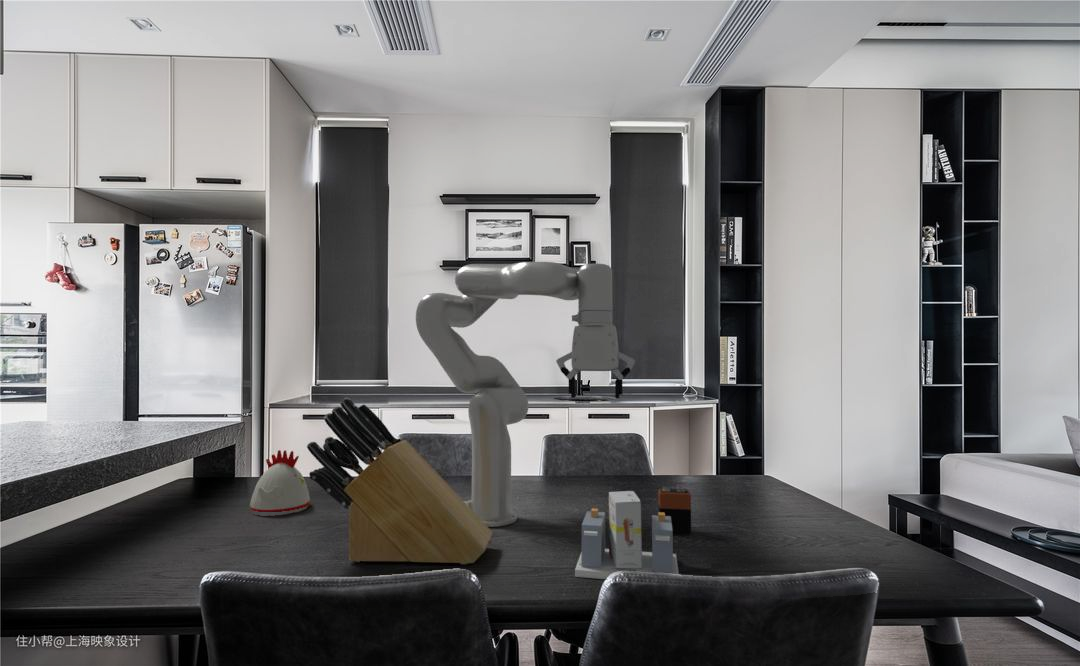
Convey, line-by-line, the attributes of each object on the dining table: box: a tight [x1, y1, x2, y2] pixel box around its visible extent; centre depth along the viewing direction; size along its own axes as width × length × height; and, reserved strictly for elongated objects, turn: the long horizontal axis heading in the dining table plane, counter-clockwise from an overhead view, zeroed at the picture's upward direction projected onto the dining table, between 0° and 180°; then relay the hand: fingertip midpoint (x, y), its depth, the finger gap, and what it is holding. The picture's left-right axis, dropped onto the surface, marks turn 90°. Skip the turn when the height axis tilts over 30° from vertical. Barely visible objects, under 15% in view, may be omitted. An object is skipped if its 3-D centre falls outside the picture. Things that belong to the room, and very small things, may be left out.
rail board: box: [574, 507, 680, 580], centre depth 100 cm, size 18×12×10 cm, turn 78°
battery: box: [657, 486, 692, 536], centre depth 122 cm, size 4×7×10 cm, turn 83°
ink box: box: [608, 490, 643, 568], centre depth 100 cm, size 9×5×12 cm, turn 1°
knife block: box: [306, 397, 494, 565], centre depth 107 cm, size 11×35×31 cm, turn 87°
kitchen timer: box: [249, 449, 311, 512], centre depth 140 cm, size 14×14×15 cm
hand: (595, 397), depth 119 cm, fingers open, 9 cm apart
